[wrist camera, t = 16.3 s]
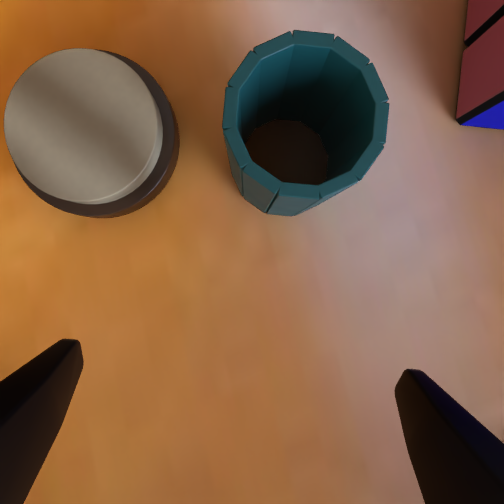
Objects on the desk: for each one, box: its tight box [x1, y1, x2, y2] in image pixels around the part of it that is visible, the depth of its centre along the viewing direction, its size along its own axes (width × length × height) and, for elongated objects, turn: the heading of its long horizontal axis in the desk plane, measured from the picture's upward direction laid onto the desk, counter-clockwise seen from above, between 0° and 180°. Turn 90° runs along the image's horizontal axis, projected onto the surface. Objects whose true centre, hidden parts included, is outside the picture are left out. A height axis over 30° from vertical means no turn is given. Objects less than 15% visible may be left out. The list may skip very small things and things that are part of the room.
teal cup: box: [222, 30, 389, 216], centre depth 18 cm, size 7×7×8 cm
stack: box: [4, 48, 180, 218], centre depth 20 cm, size 10×10×3 cm
